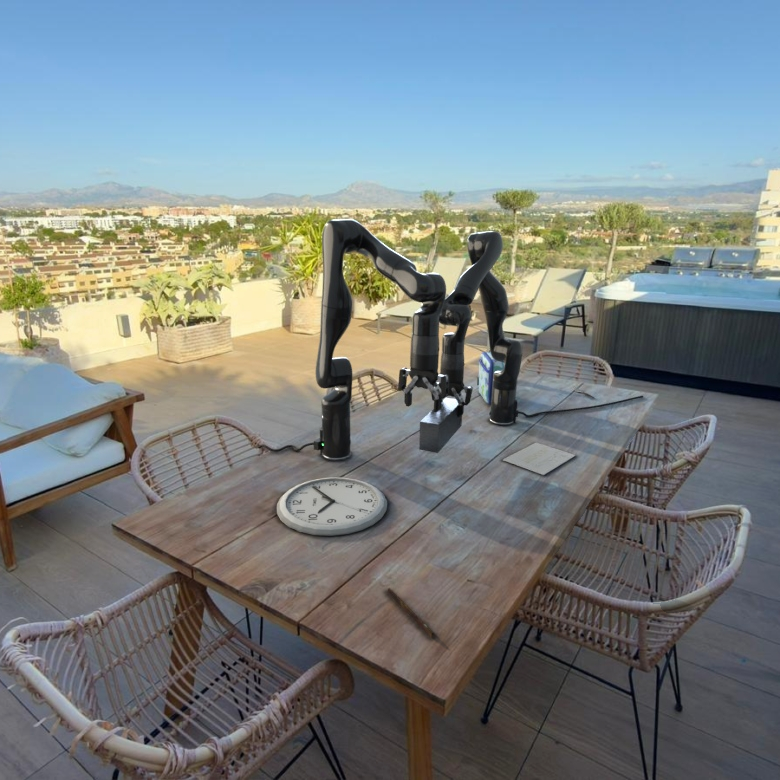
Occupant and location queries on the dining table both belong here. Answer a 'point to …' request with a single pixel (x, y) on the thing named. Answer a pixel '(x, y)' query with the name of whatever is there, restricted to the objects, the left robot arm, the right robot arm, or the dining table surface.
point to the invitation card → (539, 458)
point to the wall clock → (331, 506)
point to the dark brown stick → (411, 612)
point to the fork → (581, 391)
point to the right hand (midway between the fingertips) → (450, 414)
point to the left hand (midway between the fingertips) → (422, 408)
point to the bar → (439, 426)
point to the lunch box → (487, 375)
